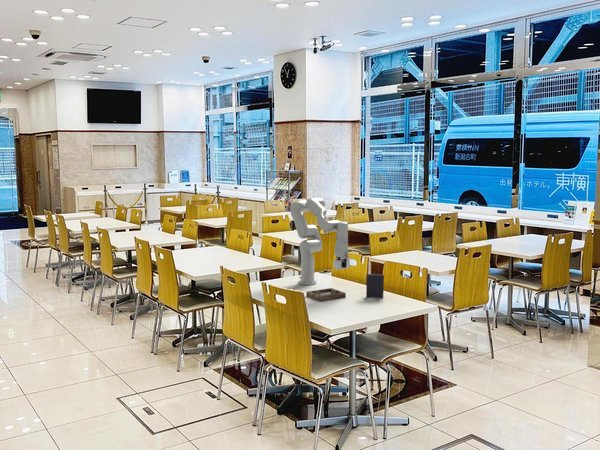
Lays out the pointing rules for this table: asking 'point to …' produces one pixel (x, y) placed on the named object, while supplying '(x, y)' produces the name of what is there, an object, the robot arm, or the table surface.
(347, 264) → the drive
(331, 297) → the tray
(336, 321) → the table surface
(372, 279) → the calculator
